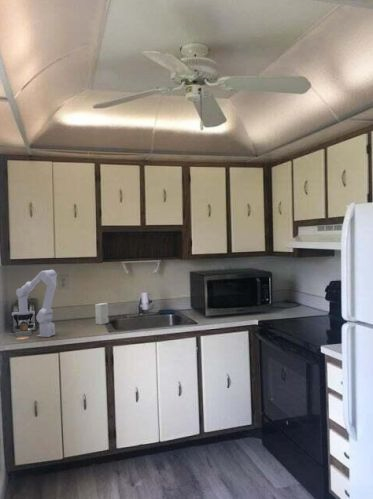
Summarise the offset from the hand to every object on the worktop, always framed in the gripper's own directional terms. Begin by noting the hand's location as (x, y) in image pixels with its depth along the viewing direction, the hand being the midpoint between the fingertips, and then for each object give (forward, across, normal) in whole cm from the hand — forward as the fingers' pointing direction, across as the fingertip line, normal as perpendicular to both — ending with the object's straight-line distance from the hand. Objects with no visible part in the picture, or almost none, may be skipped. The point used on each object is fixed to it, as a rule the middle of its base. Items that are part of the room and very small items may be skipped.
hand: (23, 325), depth 278 cm
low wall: (+6, 0, +7) cm, 9 cm away
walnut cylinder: (+6, 0, 0) cm, 6 cm away
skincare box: (+6, -54, -9) cm, 55 cm away
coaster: (+6, 0, +14) cm, 15 cm away
